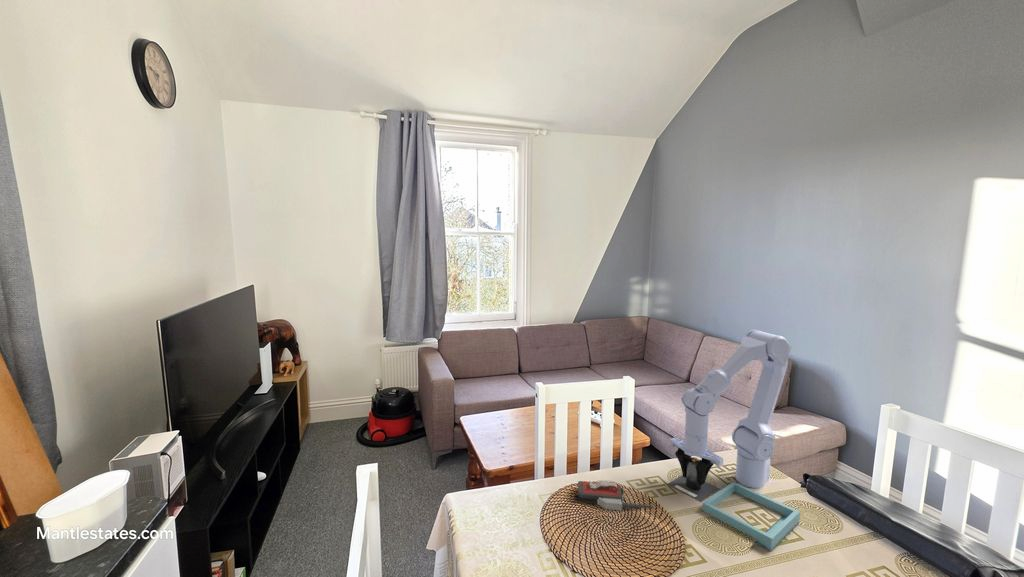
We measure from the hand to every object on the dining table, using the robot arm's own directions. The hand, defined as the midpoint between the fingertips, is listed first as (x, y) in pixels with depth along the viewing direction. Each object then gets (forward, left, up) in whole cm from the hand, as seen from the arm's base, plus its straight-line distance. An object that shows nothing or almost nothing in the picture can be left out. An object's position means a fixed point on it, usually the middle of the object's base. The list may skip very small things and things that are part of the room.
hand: (693, 479), depth 115 cm
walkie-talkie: (+22, -10, -4) cm, 25 cm away
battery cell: (0, 0, -2) cm, 2 cm away
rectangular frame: (0, +15, -3) cm, 15 cm away
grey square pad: (0, 0, -3) cm, 3 cm away
